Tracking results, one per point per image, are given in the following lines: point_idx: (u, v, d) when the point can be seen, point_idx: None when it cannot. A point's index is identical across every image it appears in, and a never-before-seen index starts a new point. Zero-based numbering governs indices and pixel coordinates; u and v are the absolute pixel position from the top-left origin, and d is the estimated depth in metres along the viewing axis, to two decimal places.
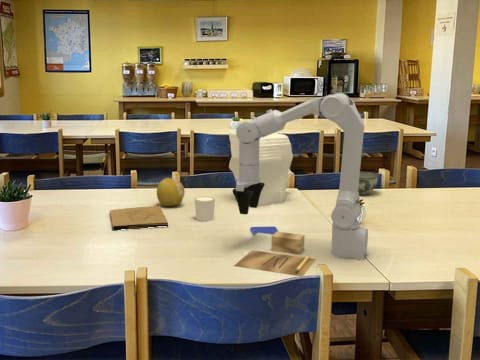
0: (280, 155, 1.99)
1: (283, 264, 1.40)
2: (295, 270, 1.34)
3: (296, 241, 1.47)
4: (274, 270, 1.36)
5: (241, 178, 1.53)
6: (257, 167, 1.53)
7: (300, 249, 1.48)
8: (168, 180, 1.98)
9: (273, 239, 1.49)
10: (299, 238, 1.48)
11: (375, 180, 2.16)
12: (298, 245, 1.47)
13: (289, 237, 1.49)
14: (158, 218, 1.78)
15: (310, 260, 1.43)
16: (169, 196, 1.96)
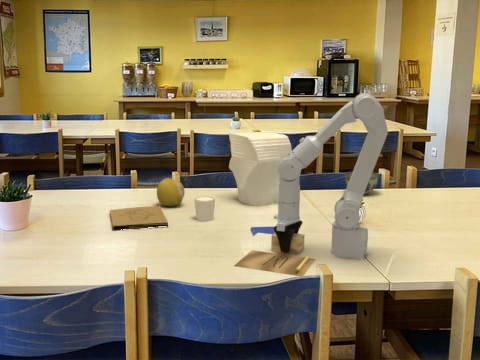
0: (280, 155, 1.99)
1: (283, 264, 1.40)
2: (295, 270, 1.34)
3: (296, 241, 1.47)
4: (274, 270, 1.36)
5: (281, 216, 1.47)
6: (298, 205, 1.47)
7: (300, 248, 1.48)
8: (168, 180, 1.98)
9: (273, 239, 1.49)
10: (299, 238, 1.48)
11: (375, 180, 2.16)
12: (298, 244, 1.47)
13: None
14: (158, 218, 1.78)
15: (310, 260, 1.43)
16: (169, 196, 1.96)
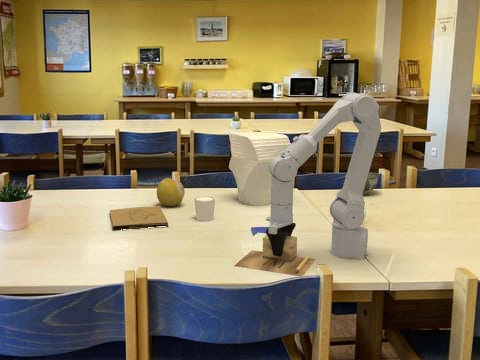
0: (280, 155, 1.99)
1: (283, 264, 1.40)
2: (295, 270, 1.34)
3: (288, 243, 1.41)
4: (274, 270, 1.36)
5: (273, 218, 1.41)
6: (291, 207, 1.40)
7: (292, 251, 1.42)
8: (168, 180, 1.98)
9: (264, 241, 1.43)
10: (291, 240, 1.41)
11: (375, 180, 2.16)
12: (290, 247, 1.41)
13: None
14: (158, 218, 1.78)
15: (310, 260, 1.43)
16: (169, 196, 1.96)
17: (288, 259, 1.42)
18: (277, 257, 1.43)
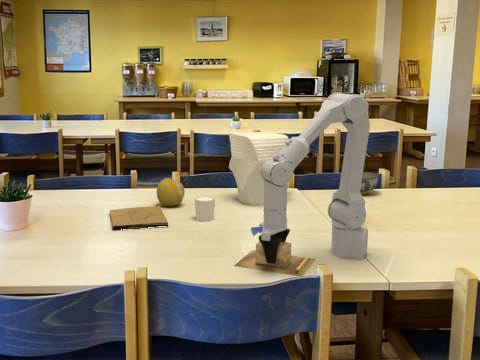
0: None
1: None
2: (295, 270, 1.34)
3: (282, 250, 1.36)
4: (274, 270, 1.36)
5: (266, 224, 1.36)
6: (284, 212, 1.35)
7: (286, 258, 1.37)
8: (168, 180, 1.98)
9: (257, 247, 1.38)
10: (285, 246, 1.36)
11: (375, 180, 2.16)
12: (284, 254, 1.36)
13: None
14: (158, 218, 1.78)
15: (310, 260, 1.43)
16: (169, 196, 1.96)
17: (282, 266, 1.37)
18: (271, 264, 1.38)
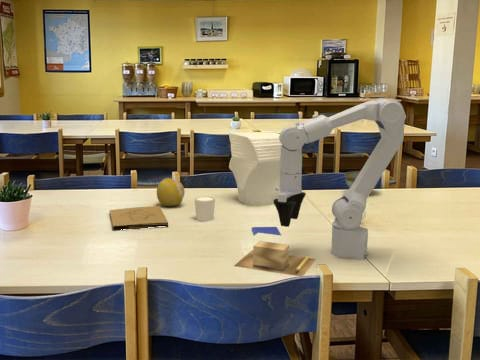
0: None
1: None
2: (295, 270, 1.34)
3: (280, 252, 1.35)
4: (274, 270, 1.36)
5: (282, 188, 1.43)
6: (300, 176, 1.42)
7: (284, 260, 1.36)
8: (168, 180, 1.98)
9: (255, 249, 1.37)
10: (283, 248, 1.35)
11: None
12: (282, 256, 1.35)
13: (272, 247, 1.36)
14: (158, 218, 1.78)
15: (310, 260, 1.43)
16: (169, 196, 1.96)
17: (280, 268, 1.35)
18: (268, 266, 1.37)
